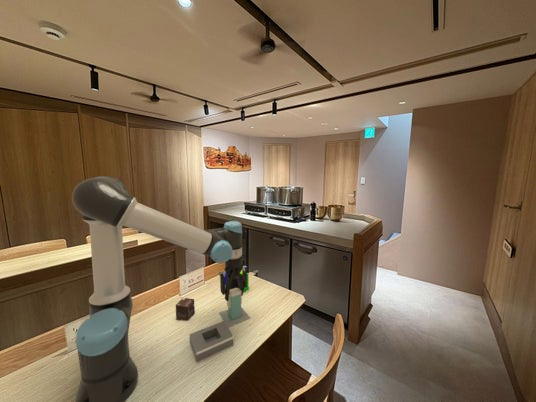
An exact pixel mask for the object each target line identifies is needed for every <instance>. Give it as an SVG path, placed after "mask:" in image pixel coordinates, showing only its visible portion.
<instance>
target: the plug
mask: <svg viewBox="0 0 536 402" xmlns="http://www.w3.org/2000/svg"><path fill="white" fill-rule="evenodd" d="M229 293H230V294H231V308H229V307H228V306H227V310H228V315H229V316H230V318H231V319H232V320H233V319H235V318H238V317H240V316H241V307H242V304H241V302H242V296H241V294H240V291H239V290H238V289H237V288H234V289H231V290H230V291H229Z"/></svg>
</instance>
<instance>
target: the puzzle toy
mask: <svg viewBox="0 0 536 402" xmlns="http://www.w3.org/2000/svg"><path fill="white" fill-rule="evenodd" d="M240 275H241V280H242V270H241V272H240ZM224 278H225V286H226V281H227V274H226V273H225V277H224ZM234 288H239V285H238V282H237V278H236V276H235V277H233V279H232V282H231V286H230V290H231V289H234ZM249 288H250V287H249V273H248V272H247V287H246V288H244V291H243V294H244V293H245V292H246V293H247V291H249Z"/></svg>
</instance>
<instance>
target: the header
mask: <svg viewBox="0 0 536 402" xmlns="http://www.w3.org/2000/svg"><path fill="white" fill-rule="evenodd" d="M234 340H235V337H234V335H233V333H232V332H231V330H230V327H227V325H226V324H225V322H224V321H223V320H222V321H219V322H217V323H214V324H212V325H209V326H207V327H204V328H203V329H200V330H197V331H194V332H192V333H190V334H189V344H190V347H191V350H192V352H193V353H192V354H193V355H194V358H195V361H196V362H199V361H202V360H204V359H205V358H209V357H210V356H212V355H214V354H216V353H218V352H219V353H220V352H221V351H223V350H226V349H227V348H230V347H232V346H234Z"/></svg>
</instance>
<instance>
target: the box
mask: <svg viewBox="0 0 536 402" xmlns="http://www.w3.org/2000/svg"><path fill="white" fill-rule="evenodd" d="M195 309H196V308H195V298H190V297H189V298H188V297H182V298H181V299H180V300H179V301H177V303H176V304H175V319H176V320H177V321H186V322H187V321H189V320H190V319H191V318H192V317H193V316H194V315H195V313H196V311H195Z"/></svg>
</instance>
